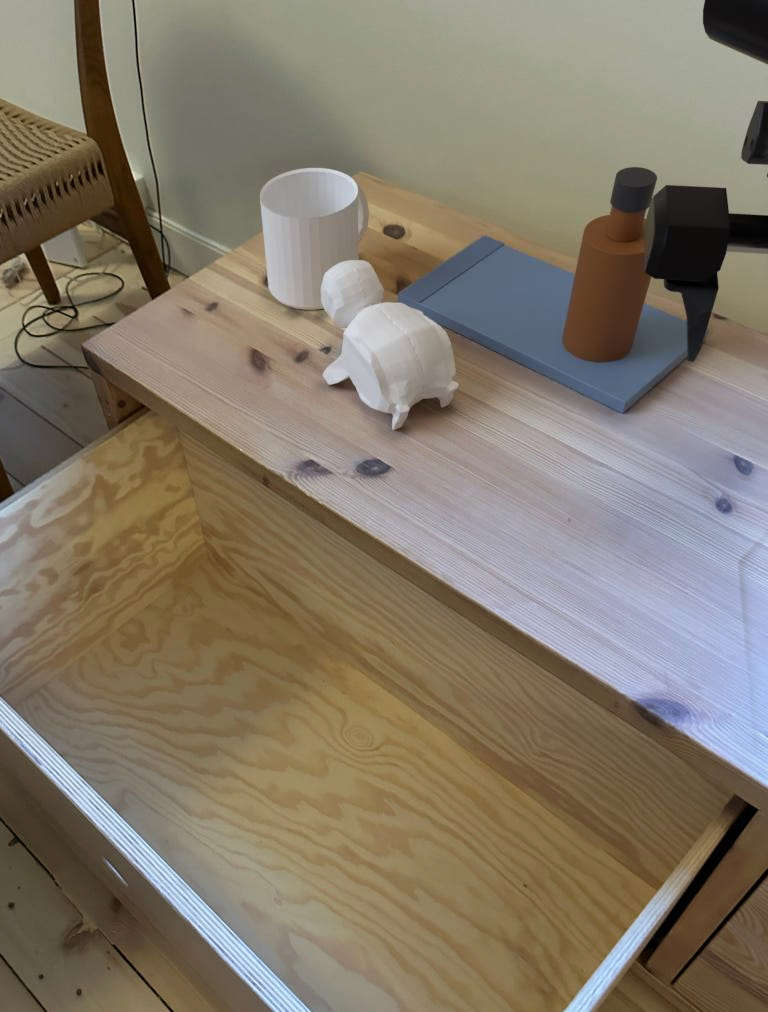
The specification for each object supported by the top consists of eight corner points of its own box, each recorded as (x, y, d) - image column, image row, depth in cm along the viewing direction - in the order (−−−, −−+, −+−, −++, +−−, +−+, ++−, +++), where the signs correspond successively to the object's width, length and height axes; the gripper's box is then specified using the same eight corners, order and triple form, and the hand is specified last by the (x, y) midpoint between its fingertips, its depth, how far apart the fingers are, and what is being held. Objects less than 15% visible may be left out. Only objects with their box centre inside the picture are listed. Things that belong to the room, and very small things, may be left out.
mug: (300, 322, 86) (294, 229, 79) (251, 281, 91) (241, 189, 83) (400, 277, 89) (404, 184, 82) (348, 239, 94) (347, 148, 87)
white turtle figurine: (451, 418, 81) (365, 291, 84) (481, 362, 73) (385, 224, 76) (372, 455, 79) (287, 324, 82) (394, 402, 71) (299, 258, 74)
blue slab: (705, 341, 80) (709, 328, 79) (622, 414, 75) (626, 401, 74) (481, 246, 92) (483, 234, 91) (397, 304, 87) (397, 291, 86)
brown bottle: (645, 339, 79) (694, 173, 67) (606, 371, 77) (649, 205, 65) (588, 313, 82) (624, 149, 70) (548, 344, 80) (579, 180, 68)
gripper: (1045, 43, 48) (901, 301, 61) (681, 36, 51) (616, 281, 64) (1106, 145, 42) (932, 408, 55) (687, 129, 45) (615, 381, 58)
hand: (765, 363), depth 58 cm, fingers open, 9 cm apart
